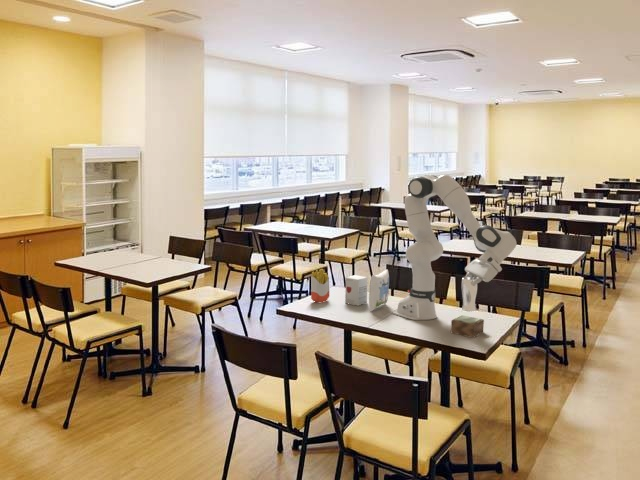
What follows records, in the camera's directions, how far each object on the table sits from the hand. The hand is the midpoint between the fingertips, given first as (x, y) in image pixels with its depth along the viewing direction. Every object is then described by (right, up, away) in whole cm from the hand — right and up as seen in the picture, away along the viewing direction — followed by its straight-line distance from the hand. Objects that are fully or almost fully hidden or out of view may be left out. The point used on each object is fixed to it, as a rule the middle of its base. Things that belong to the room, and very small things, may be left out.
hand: (468, 283), depth 265 cm
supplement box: (-48, -16, +55) cm, 75 cm away
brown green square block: (0, -23, +3) cm, 24 cm away
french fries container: (-68, -15, +58) cm, 91 cm away
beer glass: (+1, -13, +2) cm, 13 cm away
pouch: (-37, -17, +46) cm, 61 cm away
